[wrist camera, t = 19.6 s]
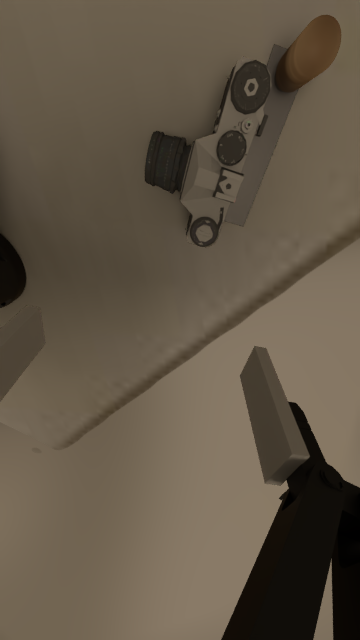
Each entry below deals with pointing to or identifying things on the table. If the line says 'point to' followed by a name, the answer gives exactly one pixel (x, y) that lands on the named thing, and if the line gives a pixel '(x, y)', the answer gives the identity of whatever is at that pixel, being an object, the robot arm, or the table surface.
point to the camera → (213, 154)
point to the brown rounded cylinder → (309, 54)
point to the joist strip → (262, 144)
